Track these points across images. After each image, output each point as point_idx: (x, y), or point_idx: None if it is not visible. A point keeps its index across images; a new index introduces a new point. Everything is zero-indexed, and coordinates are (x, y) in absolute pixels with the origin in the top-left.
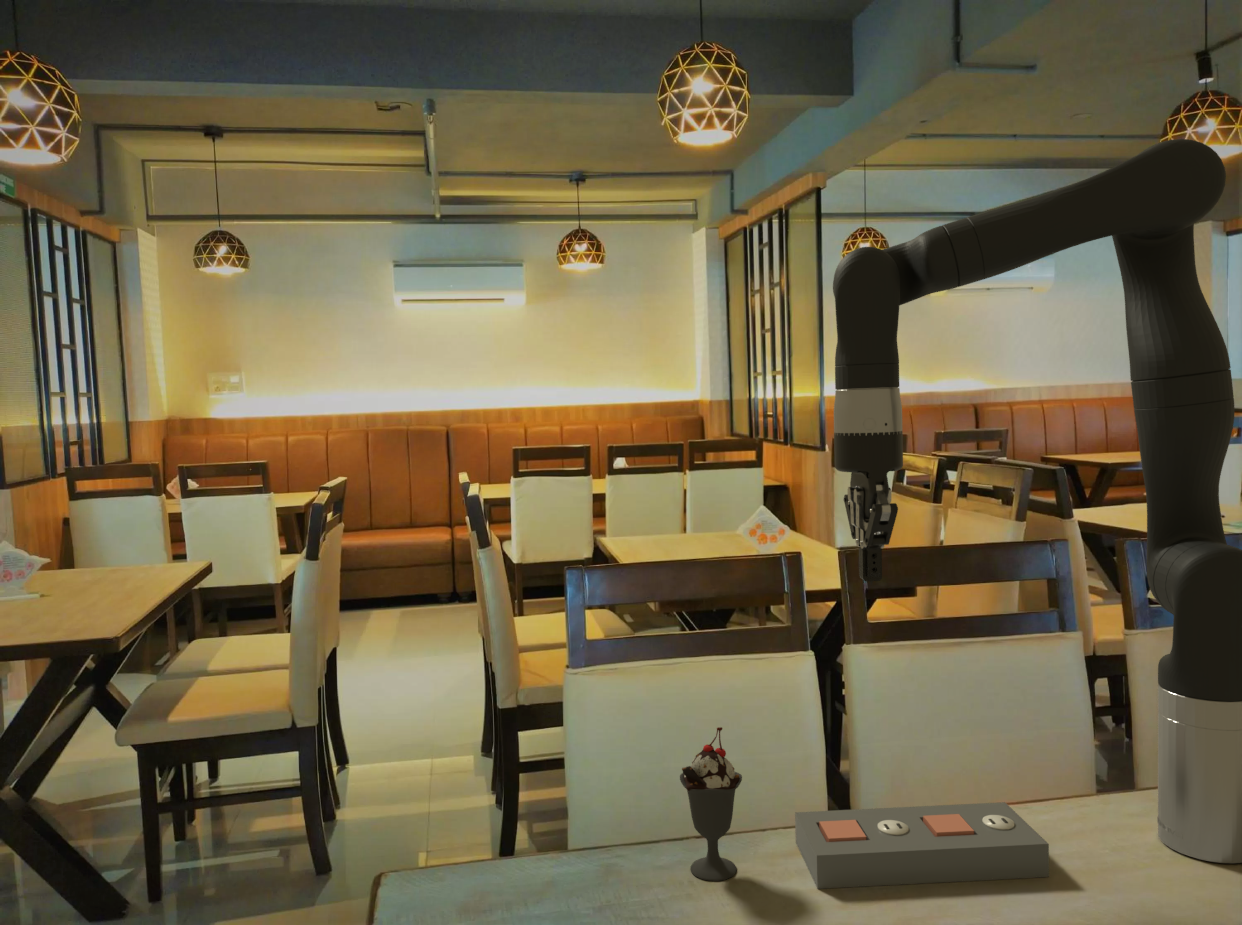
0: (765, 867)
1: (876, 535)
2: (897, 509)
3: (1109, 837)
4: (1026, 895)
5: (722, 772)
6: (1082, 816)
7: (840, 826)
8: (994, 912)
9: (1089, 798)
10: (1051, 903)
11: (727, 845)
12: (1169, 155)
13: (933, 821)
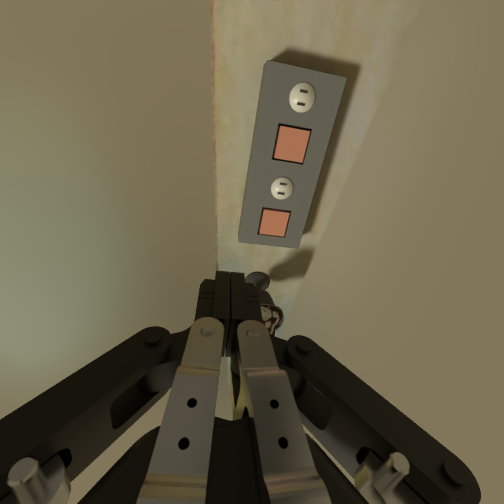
0: (262, 257)
1: (304, 384)
2: (471, 473)
3: None
4: (348, 116)
5: (273, 319)
6: None
7: (270, 223)
8: (354, 152)
9: None
10: (363, 105)
11: (231, 269)
12: None
13: (286, 155)
